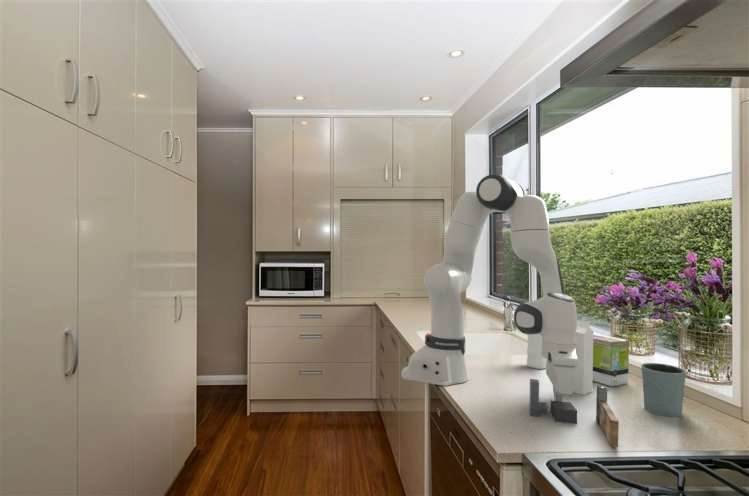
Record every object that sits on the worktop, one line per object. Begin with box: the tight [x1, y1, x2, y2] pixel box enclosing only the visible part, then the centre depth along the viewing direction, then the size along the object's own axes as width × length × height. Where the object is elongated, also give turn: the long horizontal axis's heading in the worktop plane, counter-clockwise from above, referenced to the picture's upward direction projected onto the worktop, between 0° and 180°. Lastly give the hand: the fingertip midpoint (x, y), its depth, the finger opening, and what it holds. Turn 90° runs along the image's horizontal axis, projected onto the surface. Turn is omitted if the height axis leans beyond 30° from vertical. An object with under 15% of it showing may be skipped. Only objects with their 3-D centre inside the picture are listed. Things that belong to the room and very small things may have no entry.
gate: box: [599, 400, 620, 448], centre depth 96 cm, size 13×1×6 cm, turn 161°
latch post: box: [528, 378, 548, 418], centre depth 108 cm, size 4×3×9 cm
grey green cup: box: [640, 362, 687, 418], centre depth 113 cm, size 10×10×12 cm
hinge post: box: [595, 385, 608, 424], centre depth 104 cm, size 2×2×9 cm
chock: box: [549, 400, 578, 425], centre depth 106 cm, size 5×6×4 cm
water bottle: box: [526, 334, 547, 370], centre depth 155 cm, size 7×7×25 cm
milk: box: [573, 319, 594, 396], centre depth 128 cm, size 6×6×22 cm
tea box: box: [592, 333, 630, 387], centre depth 141 cm, size 15×10×15 cm, turn 28°
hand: (557, 401), depth 114 cm, fingers closed
